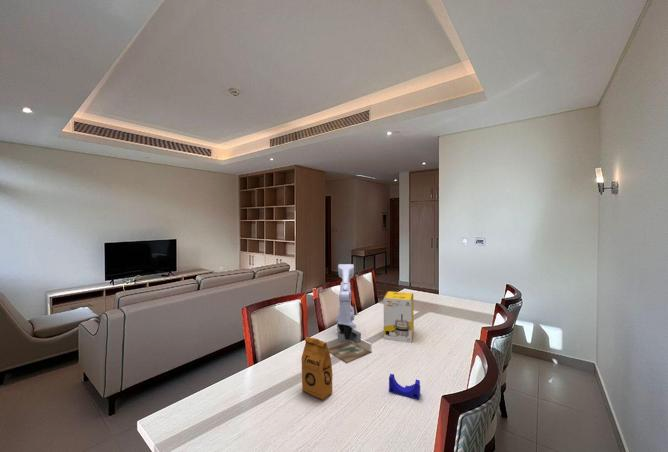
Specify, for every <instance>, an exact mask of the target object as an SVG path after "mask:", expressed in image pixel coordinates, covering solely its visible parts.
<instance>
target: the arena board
mask: <svg viewBox="0 0 668 452" xmlns="http://www.w3.org/2000/svg"><path fill="white" fill-rule="evenodd" d="M328 350H329V353H330V355H332V356H333V357H335V358H337V359H338V360H341V361H342V362H344V363H345V364H349V363H351V362H354V361H356V360H358V359H361V358H362V357H364V356H367V355H369V354H372V351H373V350H372V351H371V352H370V351H368V350H366V349H364V348H362V347H360V346H358V345H356V344H354V343H352V342H350V341H348V342H345V343H343V344H340V345H337V346H335V347H332V348H329V349H328Z"/></svg>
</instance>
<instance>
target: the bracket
mask: <svg viewBox="0 0 668 452" xmlns="http://www.w3.org/2000/svg"><path fill="white" fill-rule="evenodd" d="M337 337H338V342H339V343H341V344H342V343H345V342H348V341H353V342H354V343H356V344H357V343H360V342H361V339H362V332H359V331H358V330H356V329H352V331H351V334H350V338H349V339H347V340H346V337H345V331H341V332H338V335H337Z"/></svg>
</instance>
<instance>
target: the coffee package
mask: <svg viewBox="0 0 668 452" xmlns="http://www.w3.org/2000/svg"><path fill="white" fill-rule="evenodd" d="M304 342H305V344H304V347H303V351H302V356H301V379H302V380H301V384H302V386H301V390H302V391H303V392H306V393H307V394H310V395H311V396H313V397H315V398H318V399H320V400H322V401H324V400H325V399H326V398H327V397H329V396H331V395H332V393H333V377H334V376H333V375H334V374H333V366H332V358H331V353H329V350H328V347H327V344H326V341H323V340H321V339H319V338H316V337H309V336H306V337H305V338H304Z"/></svg>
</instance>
